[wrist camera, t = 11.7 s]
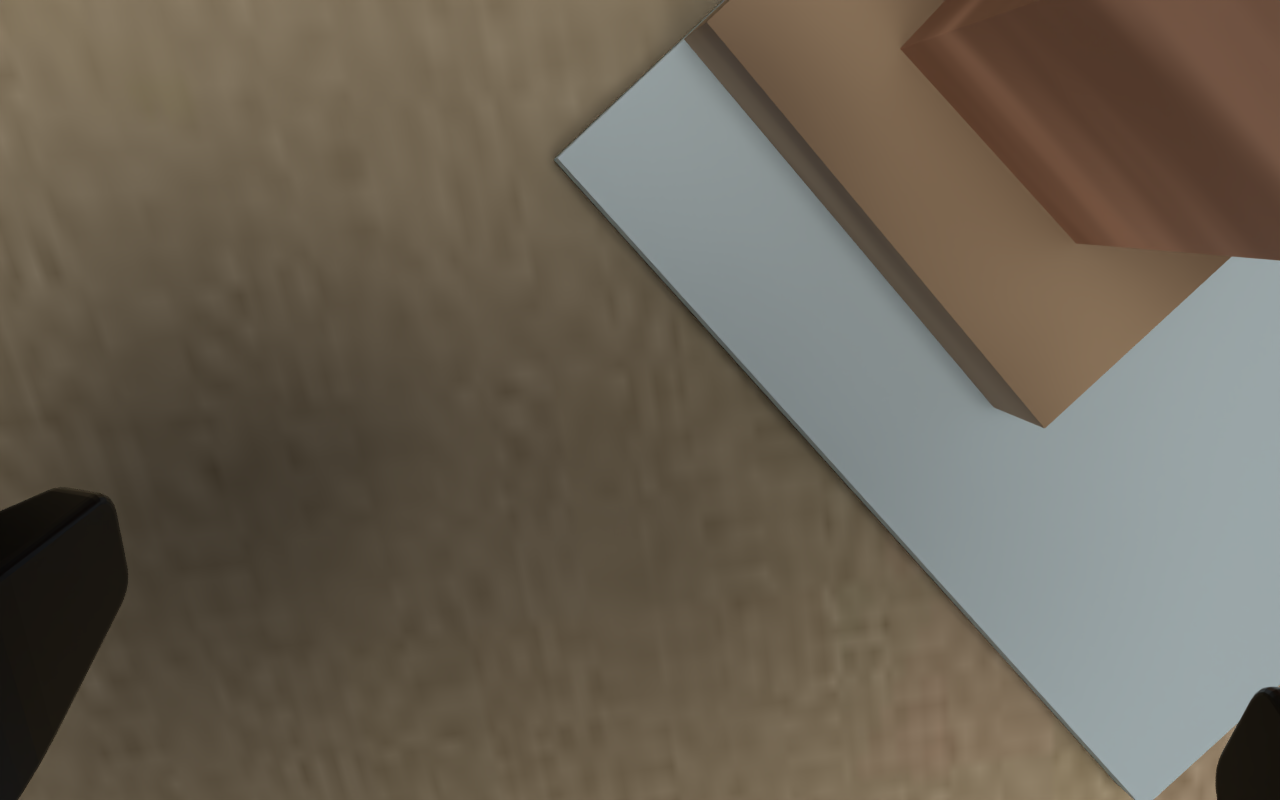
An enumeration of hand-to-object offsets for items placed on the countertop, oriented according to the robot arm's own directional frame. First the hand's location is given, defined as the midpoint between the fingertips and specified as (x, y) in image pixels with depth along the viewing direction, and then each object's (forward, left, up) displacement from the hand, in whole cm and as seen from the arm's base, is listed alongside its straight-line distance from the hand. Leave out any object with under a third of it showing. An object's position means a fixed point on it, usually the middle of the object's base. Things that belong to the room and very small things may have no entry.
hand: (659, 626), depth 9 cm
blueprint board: (+9, -6, -13) cm, 17 cm away
